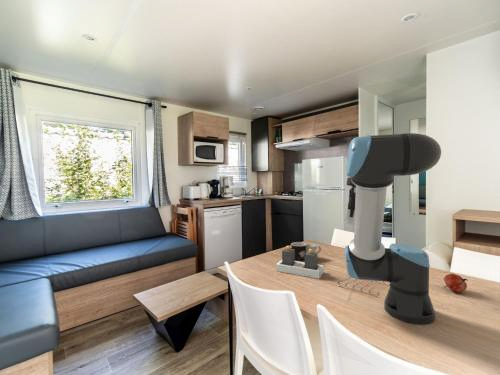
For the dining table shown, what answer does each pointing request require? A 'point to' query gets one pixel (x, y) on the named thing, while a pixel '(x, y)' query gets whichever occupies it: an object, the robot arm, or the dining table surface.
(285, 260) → the plug
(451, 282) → the red fruit with stem
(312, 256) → the twin plug
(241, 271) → the dining table surface
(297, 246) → the coffee mug
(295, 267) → the strip
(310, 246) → the teacup
